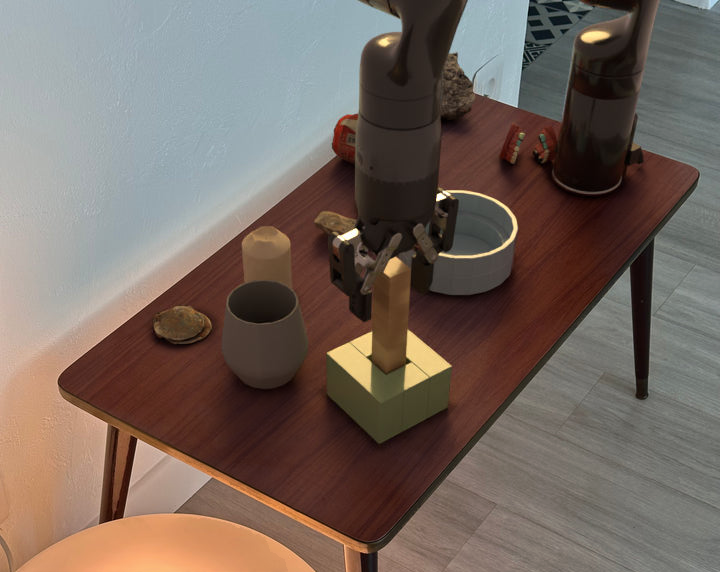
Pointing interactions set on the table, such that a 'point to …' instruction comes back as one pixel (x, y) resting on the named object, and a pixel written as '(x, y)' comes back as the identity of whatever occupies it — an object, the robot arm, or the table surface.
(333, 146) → the beverage can
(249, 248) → the candle
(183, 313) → the decorative disc
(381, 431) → the stand
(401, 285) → the stick
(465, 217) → the bowl
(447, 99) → the rock
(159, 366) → the table surface
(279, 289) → the cup
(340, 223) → the artifact
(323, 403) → the table surface
